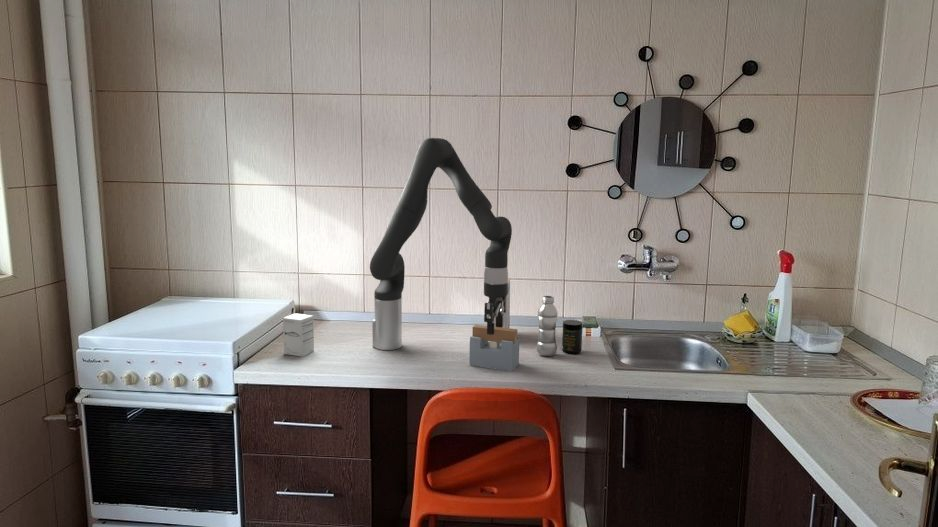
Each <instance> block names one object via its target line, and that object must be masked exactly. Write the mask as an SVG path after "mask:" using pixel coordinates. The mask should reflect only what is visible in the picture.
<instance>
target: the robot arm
mask: <svg viewBox="0 0 938 527" xmlns="http://www.w3.org/2000/svg"><path fill="white" fill-rule="evenodd" d="M437 168H439V169H441V170H442V171H443V172H444V173H445V174H446V175H447V177H448V178H449V179H450V180H451V182H452V184H453V186H454V189H455V192H456V194H457V196H458V198H459V200H460V202H461V203H462V204H463V206H464V207H465V208H466V209H467V211H468V212H469V213H470V214H471V216H472V217H473V219H474V222H475V223H476V226H477V227H478V230H479V231H480V233H481V234H482V236H483V237H484V238H485V239H487V240H489V242H490V244H489V247H488V248H486V250H485V252H484V253H485V255H484V272H483V295H484V296H485V297H487V298H488V302H485V303H484V310H483V312H484V318H483V320H484V323H486V326H487V334H489V335H493V334H494V322H495V318H496V327H503V316H504V313H505V312H506V296H507V295H508V278H509V272H508V264H509V263H508V260H509V259H508V256H509V255H508V253H509V248H510V244H511V240H512V235H513V234H512V231H513V227H512V223H511V221H510V220H509V218H507V217H505V216H495V215H494V213H493V211H492V207H493V205H492V203H491V201H490V200H489V199H488V197H487V196H486V195H485V193H484V192H483V191H482V189H480V187H479V186H478V185H477V183H476V182H475V181H474V179H473V178H472V176H471V175H470V174H469V172H468V171H467V168H466V167H465V166H464V164H463V163H462V161H461V159H460V157H459V154H458V153H457V152H456V150H455V148H454V146H453V145H452V143H451V142H450V141H449V140H447V139H444V138H439V137H428V138H426V139H424V140H423V141H421V142H420V144H419V146H418V147H417V151H416V154H415V156H414V160H413V164H412V167H411V170H410V173H409V176H408V179H407V180H406V183H405V185H404V188H403V191H401V192H402V193H401V195H400V197H399V199H398V201H397V203H396V206H395V208H394V210H393V213H392V216H391V219H390V220H389V223H388V225H387V228H386V230H385V232H384V236H383V237H382V240H380V243H379V245H378V247H377V248H376V250H375V252H374V253H373V255H372V257H371V258H370V259H371V260H370V263H369V270H370V271H369V272H370V274H371V276H372V278H374V279H375V280H378V281H379V283H378V285H377V287H376V288H375V289H374V292H373V294H374V318H373V319H372V322H371V323H372V326H371V327H372V329H371V330H372V332H371V333H372V348H376V349H378V350H383V351H395V350H398V349H400V348H402V346H403V338H402V337H403V331H402V329H403V327H402V326H403V320H402V319H403V318H402V317H403V312H402V311H403V310H402V308H403V306H402V304H403V303H402V302H403V301H402V300H403V299H402V298H403V297H402V295H403V294H402V293H403V292H404V289H405V288H404V287H405V272H406V271H405V266H406V265H405V260H404V258H403V256H402V254H401V253H400V251H401V250H402V247H403V246H404V245H405V243H406V242H407V240H408V239H409V238H410V237H411V236H412V235H413V234H414V232H415V231H416V230H417V228H418V227H419V225H420V224H421V222H422V219H423V217H424V214H425V213H426V210H427V204H428V190H429V185H430V182H431V180H432V177H433V175H434V173H435V171H436V169H437Z"/></svg>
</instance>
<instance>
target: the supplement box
mask: <svg viewBox="0 0 938 527" xmlns="http://www.w3.org/2000/svg"><path fill="white" fill-rule="evenodd" d="M282 325H283V326H282V329H283V334H282V336H283V354H284V355H290V356H297V357H301V358H302V357H303V358H304V357H305V356H306V355H309V354H311V353H313V352H314V351H315V337H314V336H315V334H314V329H315V328H314V327H315V326H314V314H313V315H310V314H304V313H292V314H289V315H287V316H285V317H282Z"/></svg>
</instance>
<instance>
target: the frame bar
mask: <svg viewBox="0 0 938 527" xmlns="http://www.w3.org/2000/svg"><path fill="white" fill-rule="evenodd" d="M517 336H518V329H517V328H512V327H511V328H502V327H494V334H493V335H489V334H487V325H483V324H475V325H473V326H472V336H471V337H480V338H481V340H485V341H488V342H490V341H493V342H502V340H505V341H513V344H515V343H516V342H517Z"/></svg>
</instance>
